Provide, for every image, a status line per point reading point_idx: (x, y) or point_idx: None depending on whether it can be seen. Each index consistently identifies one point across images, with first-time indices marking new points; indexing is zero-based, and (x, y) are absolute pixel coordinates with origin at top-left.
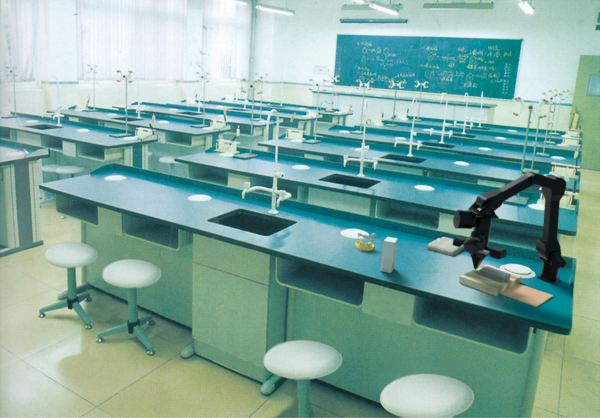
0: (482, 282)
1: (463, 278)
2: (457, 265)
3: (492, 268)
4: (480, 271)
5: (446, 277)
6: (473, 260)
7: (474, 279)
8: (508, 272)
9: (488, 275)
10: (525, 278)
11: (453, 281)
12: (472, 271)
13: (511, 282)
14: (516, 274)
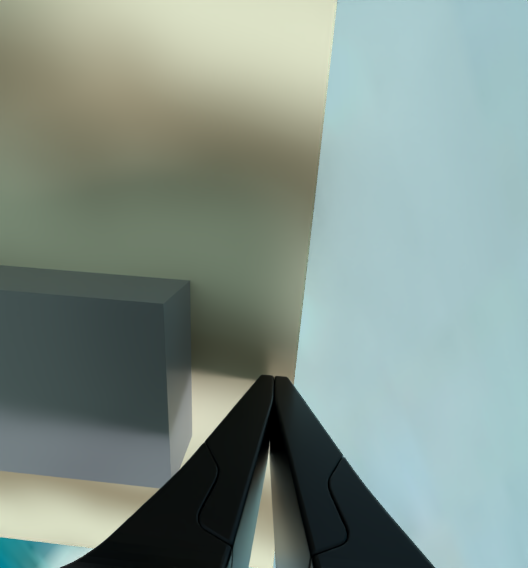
0: (13, 53)
1: (272, 5)
2: (479, 460)
3: (92, 468)
4: (149, 295)
5: (489, 79)
6: (315, 456)
7: (132, 64)
8: (65, 532)
9: (44, 279)
10: (46, 548)
11: (381, 27)
12: (282, 324)
13: None
14: (8, 534)
